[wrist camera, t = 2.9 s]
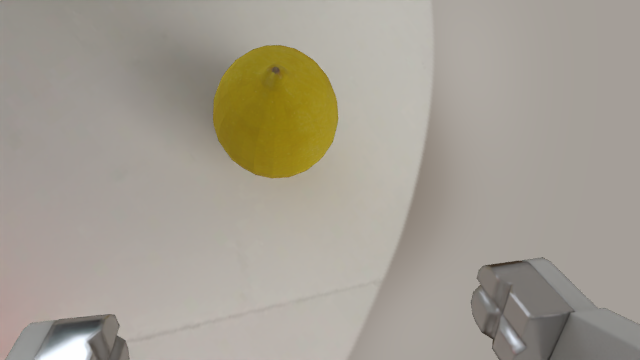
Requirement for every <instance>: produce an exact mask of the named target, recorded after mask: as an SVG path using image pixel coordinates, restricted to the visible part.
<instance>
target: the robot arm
mask: <svg viewBox="0 0 640 360" xmlns="http://www.w3.org/2000/svg"><path fill="white" fill-rule="evenodd" d="M477 279H478V281H479V282H480V284H481V285H480V286H479V287H478V288H477V289H476V290H475V291H474V292H473V295H472V300H471V307H472V314H473V317H474V319H475V322H476V324H477V325H478V327H479V329H480V330H481V332H482V333H484V334H485V335H487V336H489V337H490V338H492V339H493V346H492V349H493V351H494V352H495V354H496V355H497V357H498V359H499V360H640V324H638V323H635V322H634V321H632V320H629V319H627V318H625V317H623V316H621V315H619V314H617V313H615V312H612V311H610V310H608V309H606V308H599V309H598V308H597V307H596V306H595V305H594V304H593V303H592V302H591V301H590V300H589V299H588V298H587V297H586V296H585V295H584V294H583V293H582V292H581V291H580V290H579V289H578V288H577V287H576V286H575V285H574V284H573V283H572V282H571V281H570V280H569V279H568V278H567V277H566V276H565V275H564V274H563V273H562V272H561V271H560V270H558V268H557V267H556V266H555V265H554V264H552V263H551V262H550V261H549V260H547V259H545V258H543V257H542V258H535V259H528V260H522V261H514V262H506V263H499V264H492V265H485V266H482V267H481V268H480V270H479V272H478V275H477ZM119 326H120V325H119V323H118V321H117V319H116V316H115V315H112V314H106V315H96V316H87V317H77V318H68V319H59V320H53V321H43V322H34V323H31V324H29V325H28V326H27V327H25V328H24V329H23V331H22V332H21V334H20V336H19V337H18V339H17V341H16V342H15V344H14V346H13V347H12V349H11V350H10V352H9V354H8V355H7V357H6V359H5V360H130V358H129V351H128V347H127V344H126V341H125V340H124V339H122V338H121V337H119V336H117V333H118V330H119Z"/></svg>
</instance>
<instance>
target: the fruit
mask: <svg viewBox="0 0 640 360" xmlns="http://www.w3.org/2000/svg"><path fill="white" fill-rule="evenodd" d="M213 123H214V127H215V131H216V134H217V137H218V140H219V142H220V144H221V145H222V147H223V148H224V149H225V151H226V152H227V153H228V155H229V156H230V158H231V159H232V160H233V161H234V162H236V163H237V164H239V165H240V166H241V167H243V168H244V169H246V170H248V171H250V172H252V173H254V174H255V175H259V176H264V177H269V178H283V177H290V176H293V175H296V174H298V173H301V172H304V171H306V170H308V169H309V168H310V167H312V166H313V165H314V164H315V163H317V162H318V161H319V160H320V159H321V158H322V157H323V156H324V154H325V153H326V151H327V150H328V148H329V147H330V145H331V144H332V142H333V139H334V135H335V131H336V128H337V123H338V109H337V100H336V96H335V93H334V91H333V88H332V86H331V83H330V81H329V79H328V77H327V75H326V74H325V73H324V72H323V70H322V69H321V68H320V67H319V66H318V64H317V63H316V62H315V61H314V60H312V59H311V58H310V57H308V56H307V55H305V54H304V53H302V52H300V51H298V50H296V49H294V48H290V47H286V46H281V45H272V46H263V47H260V48H256V49H253V50H251V51H250V52H248V53H246V54H245V55H243V56H242V57H240V58H238V59H237V60H235V62H234V63H233V64H232V65H231V66H230V67H229V69H228V70H227V71H226V72H225V74H224V75H223V77H222V78H221V81H220V84H219V86H218V89H217V91H216V94H215V97H214V108H213Z"/></svg>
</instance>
